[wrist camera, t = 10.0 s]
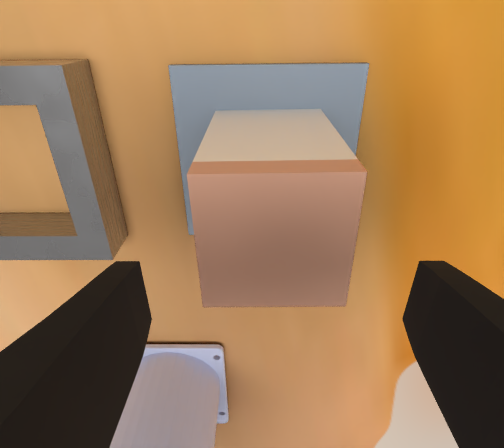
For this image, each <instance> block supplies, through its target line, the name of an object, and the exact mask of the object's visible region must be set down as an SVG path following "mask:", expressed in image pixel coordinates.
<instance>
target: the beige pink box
mask: <svg viewBox="0 0 504 448" xmlns="http://www.w3.org/2000/svg"><path fill="white" fill-rule="evenodd" d="M366 177H367V171H366V169H365V168H364V167H363V165H362V164H361V163H360V161H359V160H358V159H357V157H356V156H355V155H354V153H353V152H352V150H351V149H350V148H349V146H348V145H347V144H346V142H345V141H344V140H343V138H342V137H341V136H340V134H339V133H338V132H337V130H336V129H335V128H334V126H333V125H332V124H331V122H330V121H329V120H328V118H327V117H326V116H325V114H324V113H323V111H322V110H321V109H278V110H221V111H215V113H214V115H213V118H212V120H211V122H210V124H209V126H208V129H207V131H206V133H205V135H204V137H203V140H202V142H201V144H200V146H199V148H198V151H197V153H196V155H195V157H194V159H193V162H192V164H191V166H190V168H189V170H188V173H187V181H188V189H189V197H190V205H191V213H192V221H193V230H194V238H195V246H196V254H197V262H198V270H199V278H200V286H201V295H202V303H203V307H316V306H346V302H347V296H348V290H349V283H350V277H351V271H352V265H353V258H354V252H355V246H356V240H357V233H358V227H359V221H360V215H361V208H362V202H363V196H364V190H365V183H366Z"/></svg>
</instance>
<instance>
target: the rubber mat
mask: <svg viewBox="0 0 504 448" xmlns="http://www.w3.org/2000/svg"><path fill="white" fill-rule="evenodd" d="M368 68H369V63H286V64H179V65H169V74H170V83H171V91H172V99H173V107H174V116H175V124H176V132H177V141H178V149H179V157H180V165H181V174H182V182H183V190H184V198H185V207H186V215H187V223H188V232H189V235H194V230H193V221H192V213H191V205H190V197H189V189H188V181H187V173H188V170H189V168H190V166H191V164H192V162H193V159H194V157H195V155H196V153H197V151H198V148H199V146H200V144H201V142H202V140H203V137H204V135H205V133H206V131H207V129H208V126H209V124H210V122H211V120H212V118H213V115H214V113H215V111H221V110H278V109H321V110H322V111H323V113H324V114H325V116H326V117H327V118H328V120H329V121H330V122H331V124H332V125H333V126H334V128H335V129H336V130H337V132H338V133H339V134H340V136H341V137H342V138H343V140H344V141H345V142H346V144H347V145H348V146H349V148H350V149H351V150H352V152H353V153H354V155H355V156H356V149H357V142H358V136H359V129H360V122H361V115H362V109H363V102H364V95H365V88H366V82H367V75H368Z"/></svg>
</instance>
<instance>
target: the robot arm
mask: <svg viewBox="0 0 504 448" xmlns="http://www.w3.org/2000/svg"><path fill="white" fill-rule="evenodd" d="M151 320H152V318H151V313H150V308H149V304H148V299H147V294H146V290H145V285H144V281H143V276H142V271H141V267H140V262H139V261H116V262H115V263H113V264H112V265H111V266H109V267H108V268H107V269H105V270H104V271H103V272H102V273H101V274H99V275H98V276H97V277H96V278H94V279H93V280H92V281H91V282H90V283H88V284H87V285H86V286H85V287H84V288H82V289H81V290H80V291H79V292H77V293H76V294H75V295H74V296H73V297H71V298H70V299H69V300H68V301H66V302H65V303H64V304H63V305H61V306H60V307H59V308H58V309H56V310H55V311H54V312H53V313H52V314H50V315H49V316H48V317H46V318H45V319H44V320H42V321H41V322H40V323H38V324H37V325H36V326H34V327H33V328H32V329H30V330H29V331H28V332H26V333H25V334H24V335H22V336H21V337H20V338H18V339H17V340H16V341H14V342H13V343H12V344H10V345H9V346H8V347H6V348H5V349H4V350H2V351H1V352H0V448H214V446H215V436H216V426H217V423H227V422H228V419H229V414H228V401H227V388H226V374H225V361H224V349H223V347H222V346H221V345H217V344H146V342H147V338H148V334H149V329H150V325H151ZM403 322H404V326H405V329H406V332H407V335H408V338H409V341H410V344H411V347H412V350H413V353H414V356H415V358H416V360H417V362H418V364H419V366H420V368H421V371H422V373H423V375H424V377H425V379H426V381H427V383H428V385H429V387H430V389H431V391H432V393H433V396H434V398H435V400H436V402H437V404H438V406H439V408H440V410H441V412H442V414H443V416H444V418H445V420H446V422H447V424H448V426H449V428H450V430H451V432H452V435H453V437H454V438H455V441H456V443H457V445H458V447H459V448H504V299H503V298H501V297H500V296H498V295H497V294H495V293H494V292H492V291H491V290H489V289H488V288H486V287H485V286H483V285H482V284H480V283H478V282H477V281H475V280H474V279H472V278H471V277H469V276H468V275H466V274H465V273H463V272H462V271H460V270H458V269H457V268H455V267H453V266H452V265H450V264H448V263H447V262H445V261H419V264H418V267H417V271H416V274H415V278H414V281H413V285H412V288H411V291H410V295H409V298H408V302H407V305H406V308H405V312H404V315H403ZM217 355H218V356H217Z"/></svg>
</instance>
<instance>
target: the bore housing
mask: <svg viewBox="0 0 504 448" xmlns="http://www.w3.org/2000/svg"><path fill="white" fill-rule="evenodd" d="M0 105H36V106H37V109H38V112H39V115H40V118H41V122H42V125H43V128H44V131H45V134H46V137H47V141H48V144H49V147H50V150H51V153H52V157H53V160H54V163H55V166H56V169H57V172H58V176H59V179H60V182H61V185H62V188H63V191H64V195H65V198H66V201H67V204H68V207H69V211H70V213H0V260H113V259H114V257H115V255H116V254H117V252H118V250H119V249H120V247H121V245H122V244H123V242H124V240H125V239H126V237H127V235H128V233H127V229H126V224H125V220H124V216H123V211H122V207H121V202H120V198H119V194H118V189H117V185H116V180H115V176H114V172H113V167H112V163H111V158H110V154H109V149H108V145H107V141H106V136H105V132H104V127H103V123H102V119H101V114H100V110H99V105H98V101H97V97H96V92H95V88H94V83H93V79H92V75H91V70H90V66H89V61H88V59H74V60H0Z"/></svg>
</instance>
